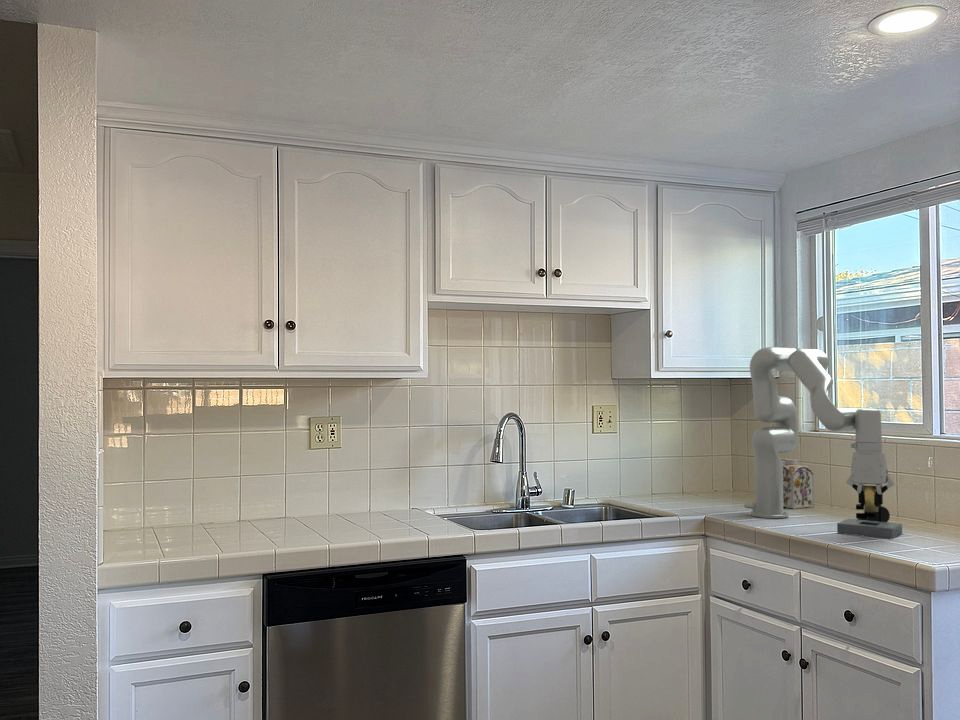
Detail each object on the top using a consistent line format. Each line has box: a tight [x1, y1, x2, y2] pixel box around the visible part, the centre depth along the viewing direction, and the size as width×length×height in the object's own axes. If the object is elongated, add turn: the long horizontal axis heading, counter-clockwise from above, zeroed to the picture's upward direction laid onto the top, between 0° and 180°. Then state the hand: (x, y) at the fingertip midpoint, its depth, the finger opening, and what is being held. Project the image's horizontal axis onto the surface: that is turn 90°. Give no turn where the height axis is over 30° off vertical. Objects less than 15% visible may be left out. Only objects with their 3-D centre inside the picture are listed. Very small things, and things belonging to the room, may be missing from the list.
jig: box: [836, 518, 903, 539], centre depth 264 cm, size 16×12×3 cm
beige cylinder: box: [863, 484, 878, 512], centre depth 264 cm, size 4×4×8 cm
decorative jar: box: [782, 458, 815, 510], centre depth 322 cm, size 12×12×18 cm
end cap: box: [855, 503, 891, 522], centre depth 281 cm, size 10×7×7 cm
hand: (870, 505), depth 263 cm, fingers closed on beige cylinder, 4 cm apart
